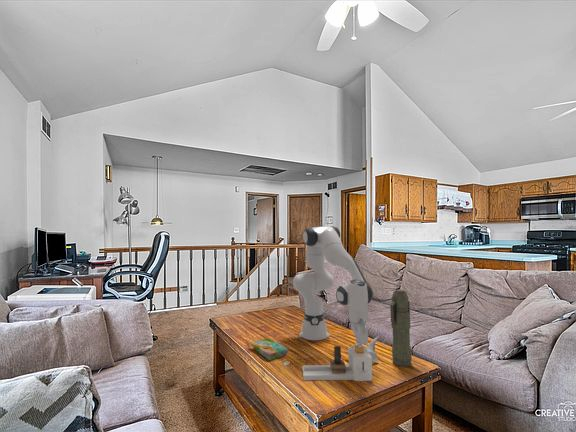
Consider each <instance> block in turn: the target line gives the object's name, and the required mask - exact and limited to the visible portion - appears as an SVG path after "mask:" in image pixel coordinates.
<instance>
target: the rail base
mask: <svg viewBox="0 0 576 432" xmlns="http://www.w3.org/2000/svg"><path fill="white" fill-rule="evenodd" d="M347 349H348V354H347V355H348V356H349V358H348V364H345V366H346V373H332V367H331V366H330V364H327V365H326V364H325V365H324V364H317V365H315V364H314V365H311V364H310V365H309V364H308V365H307V364H306V365H305V364H304V365H302V377H303V378H302V379H303V381H343V380H344V381H351V380H352V381H354V382H364V381H366V382H368V381H369V382H372V381H373V364H372V357H371V355H370V354H369V352H368V351H367V349H366V346H364V352H363V353H357V352H355V347H354V346H348V347H347ZM348 356H347V357H348Z"/></svg>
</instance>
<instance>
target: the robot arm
mask: <svg viewBox="0 0 576 432" xmlns="http://www.w3.org/2000/svg"><path fill="white" fill-rule="evenodd" d="M302 240H303V243H304V244H305V264H306V266H307V267H308V268H309V269H311V270H313V272H306V273H305V272H304V273H299V274H296V275H295V276H294V277H293V279H292V285H293V288H294V289H295V291H297V292H298V293H299V294H300V295H301V296H302V298H303V301H304V302H303V303H304V315H303V316H304V321H303V322H302V323H301V331H300V333H299V335H298V336H299V337H300V338H301V339H305V340H307V341H323V340H325V339H326V338H329V337H331V335H330V333H329V332H328V330H327V329H328V328H327V322H326V321H325V314H324V309H323V308H324V302H323V300H322V298H321V297H319V296H317V295H314V292H318V291H327V290H330V289H332V288H333V287H334V285H335V284H334V283H335V279H334V276H333V275H332V274H331V273H330V272H329V271H328V270H327V269H326V266H325V260H326V261H327V262H328V263H329V264H331V265H333V266H338V267H341V268H343V269H345V270H347V272H348V273H349V274H350V276H351V280H350V281H349V282H348V283H346V284H342V285H339V286H338V287H337V289H336V292H335V298H336V301H337V302H338V304H339V305H342V306H348V320H349V324H350V330H351V331H352V333H353V334H354V336H355V339H356V341H355V342H356V343H357V346H358V348H362V345H369V331H368V330H369V329H368V326H367V323H368V322H369V321H370V320H369V317H370V316H369V308H368V307H369V306H368V304H370V302H372V300H373V297H374V291H373V288H372V287H371V285H370V284H369V283H368V281H367V280H366V278H365V276H364V274H363V273H362V271H361V269H360V267H359V265H358V263H357V261H356V259H355V258H354V257H353V256H352V255H351V254H349V253H348V252H347V250H346V249H345V247H344V245H343V242H342V240H341V231H340V230H339V228H338V227H337V226H332V225H330V226H324V225H323V226H321V225H320V226H315V227H308V228H305V229H304V230H303V233H302Z"/></svg>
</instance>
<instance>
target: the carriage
mask: <svg viewBox="0 0 576 432" xmlns="http://www.w3.org/2000/svg"><path fill="white" fill-rule="evenodd" d="M333 348H334V349H333V357H334V359H329V361H330V363H329V365H330V366H331V367H332V373H346V366H345V365H346V364H345V361H344V359H342V351H341V350H342V347H341V346H340V345H335V346H333Z"/></svg>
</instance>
